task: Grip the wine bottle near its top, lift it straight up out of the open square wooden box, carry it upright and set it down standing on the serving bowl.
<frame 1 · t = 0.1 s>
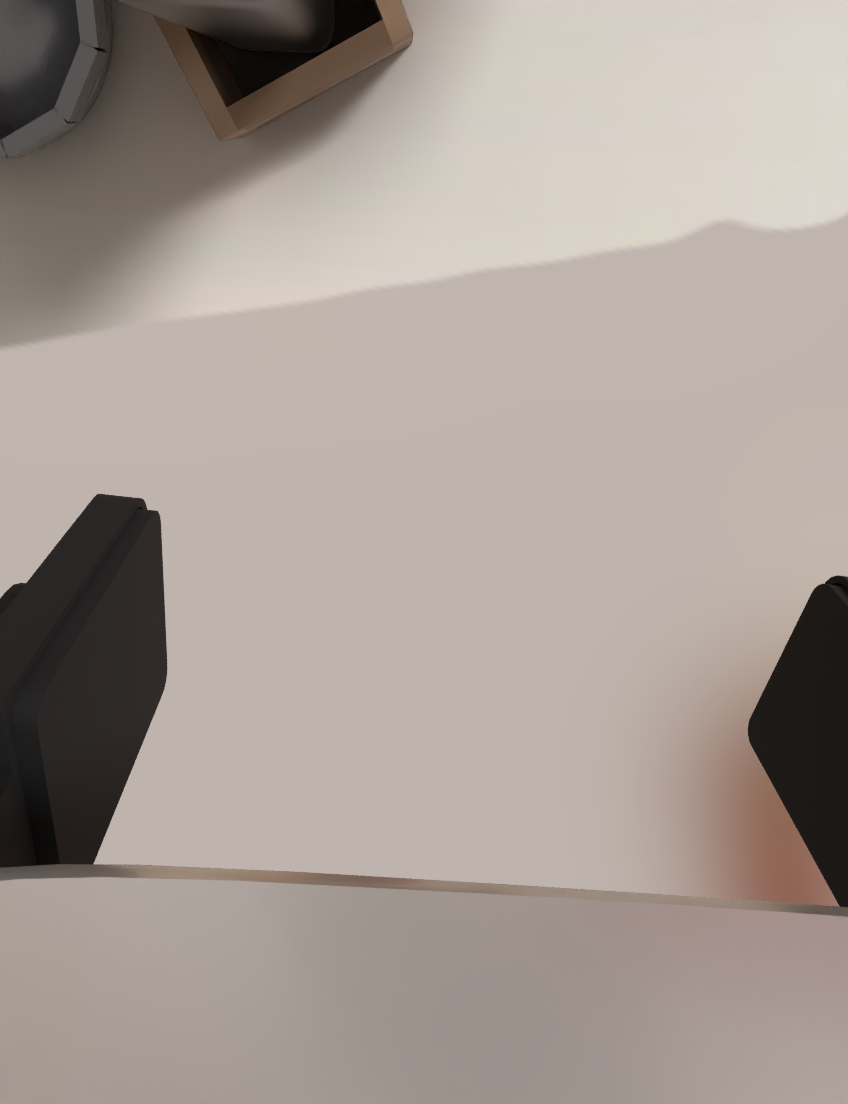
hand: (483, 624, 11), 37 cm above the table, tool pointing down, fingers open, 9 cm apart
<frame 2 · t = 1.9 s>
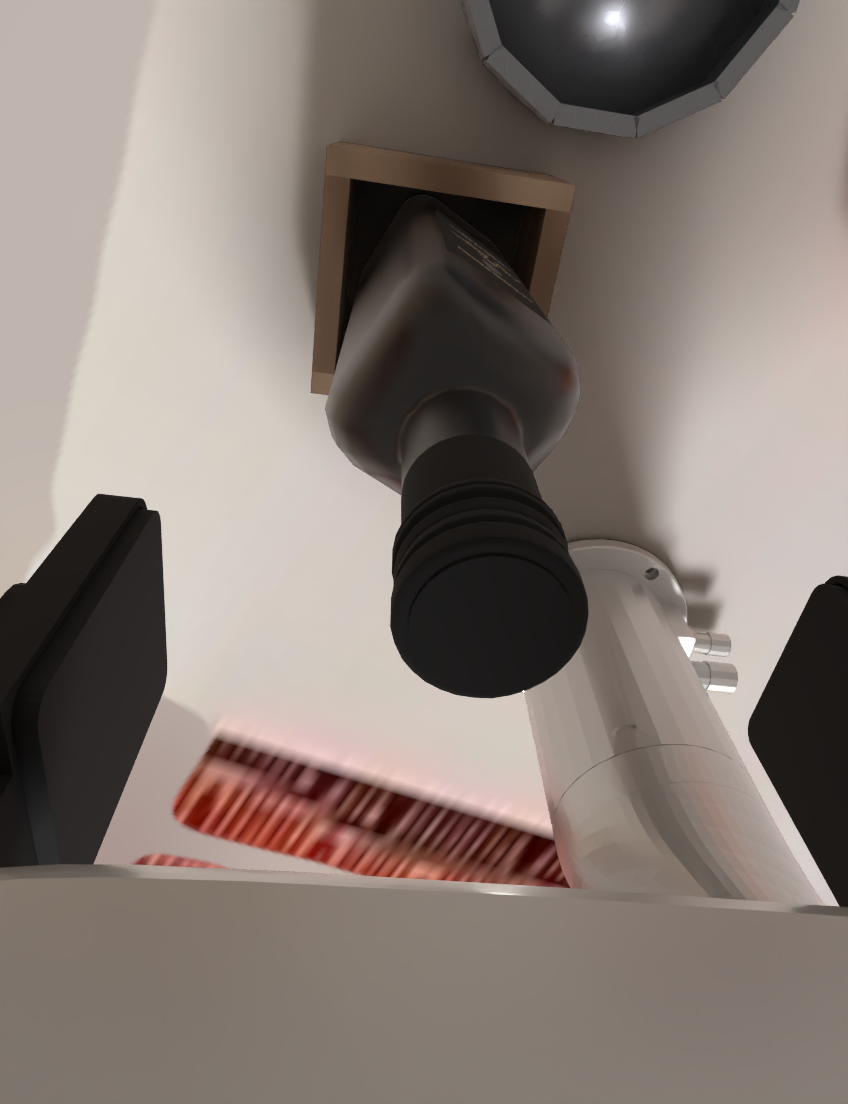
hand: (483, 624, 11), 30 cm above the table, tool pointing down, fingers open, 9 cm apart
open square wooden box: (430, 270, 37), on the table
wine bottle: (430, 270, 37), resting in open square wooden box
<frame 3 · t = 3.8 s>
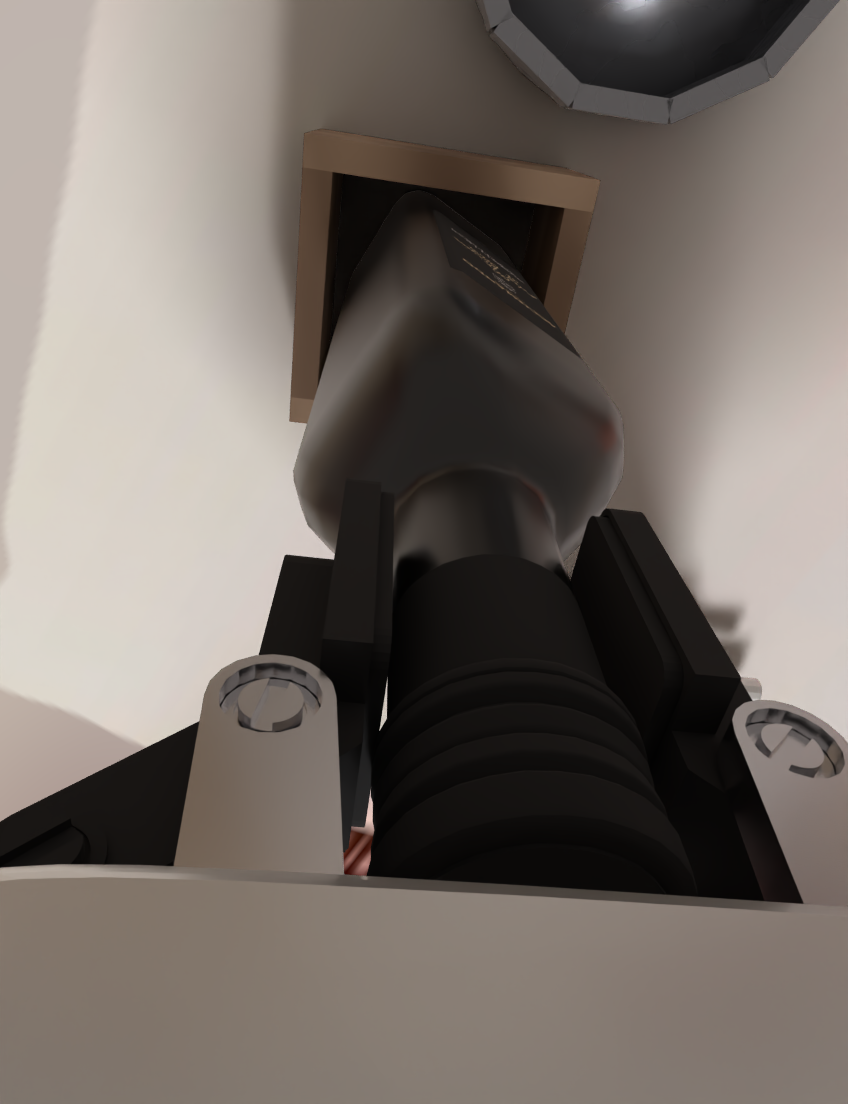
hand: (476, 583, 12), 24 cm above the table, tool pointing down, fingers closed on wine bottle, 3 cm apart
open square wooden box: (428, 277, 32), on the table
wine bottle: (427, 276, 33), resting in open square wooden box, touching gripper
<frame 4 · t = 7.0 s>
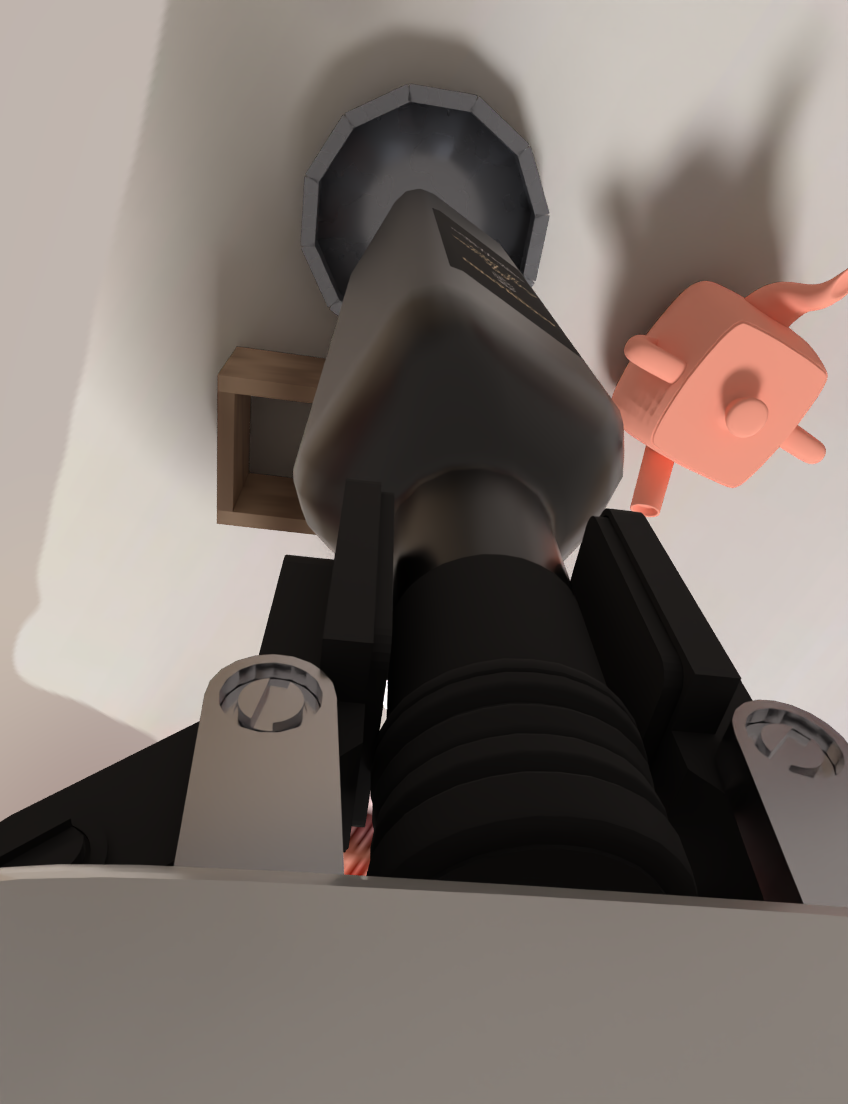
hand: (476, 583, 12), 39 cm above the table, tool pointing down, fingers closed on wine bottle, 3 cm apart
open square wooden box: (308, 427, 52), on the table
serving bowl: (423, 224, 45), on the table
wine bottle: (427, 275, 32), point 15 cm above the table, touching gripper
teapot: (688, 362, 50), on the table
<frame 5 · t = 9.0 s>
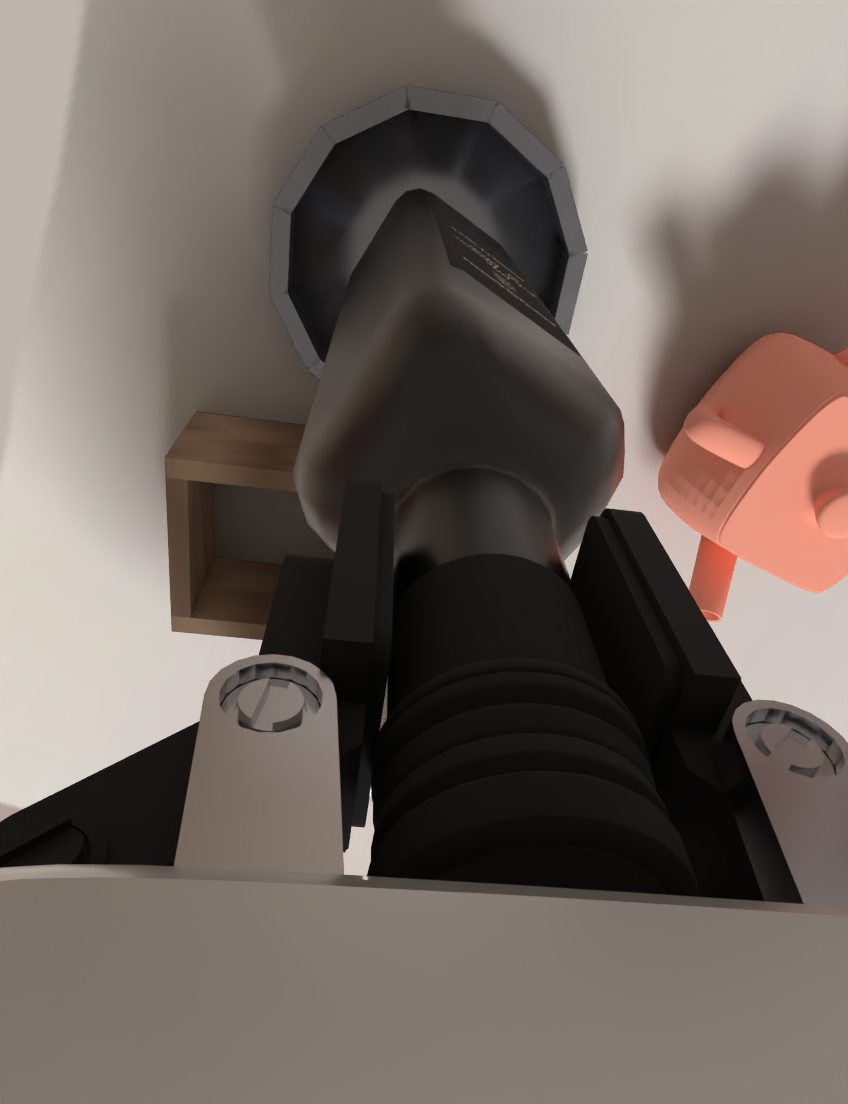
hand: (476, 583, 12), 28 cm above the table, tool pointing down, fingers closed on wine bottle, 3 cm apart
open square wooden box: (286, 505, 42), on the table
serving bowl: (425, 263, 36), on the table
wine bottle: (428, 275, 32), point 4 cm above the table, touching gripper
teapot: (752, 426, 41), on the table
when the fingers open (26 cm above the table, at t = 10.2 s): wine bottle stays where it is, resting on serving bowl.
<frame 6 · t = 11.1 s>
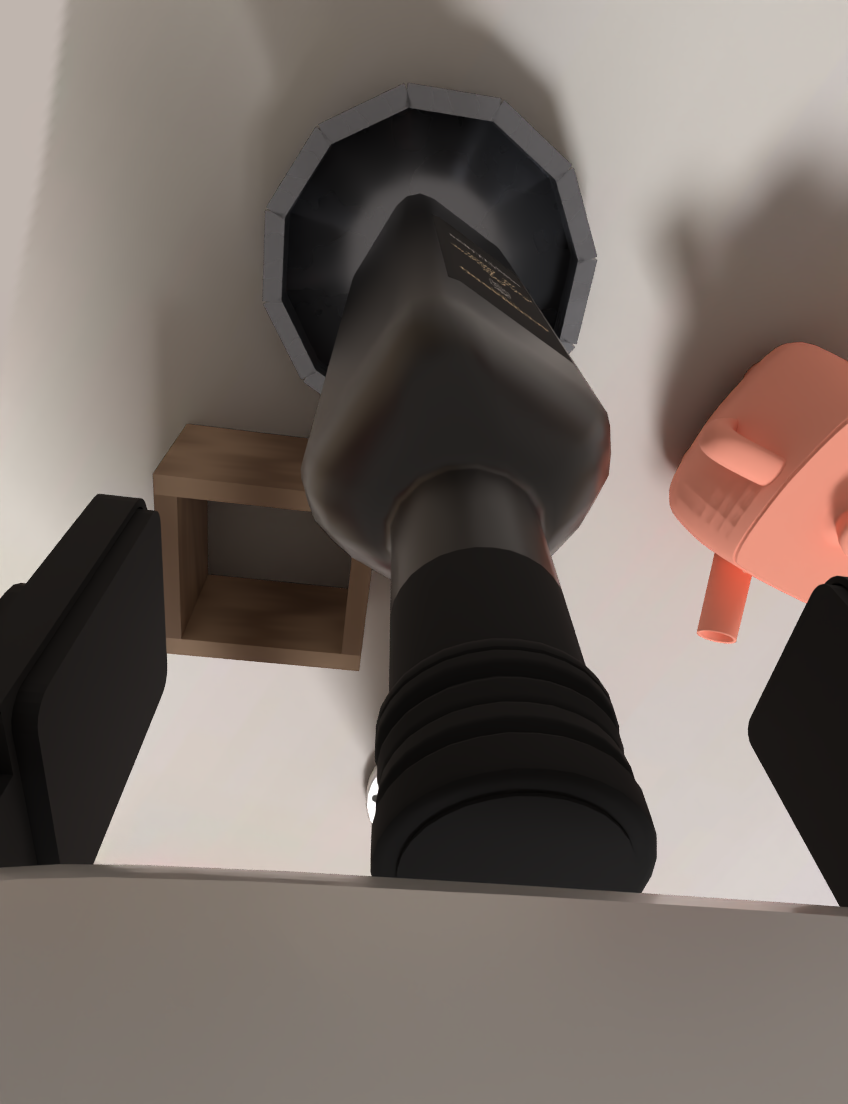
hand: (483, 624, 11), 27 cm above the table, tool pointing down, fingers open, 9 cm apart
open square wooden box: (281, 520, 41), on the table
serving bowl: (426, 269, 34), on the table
wine bottle: (428, 277, 33), point 1 cm above the table, touching serving bowl
teapot: (766, 438, 39), on the table
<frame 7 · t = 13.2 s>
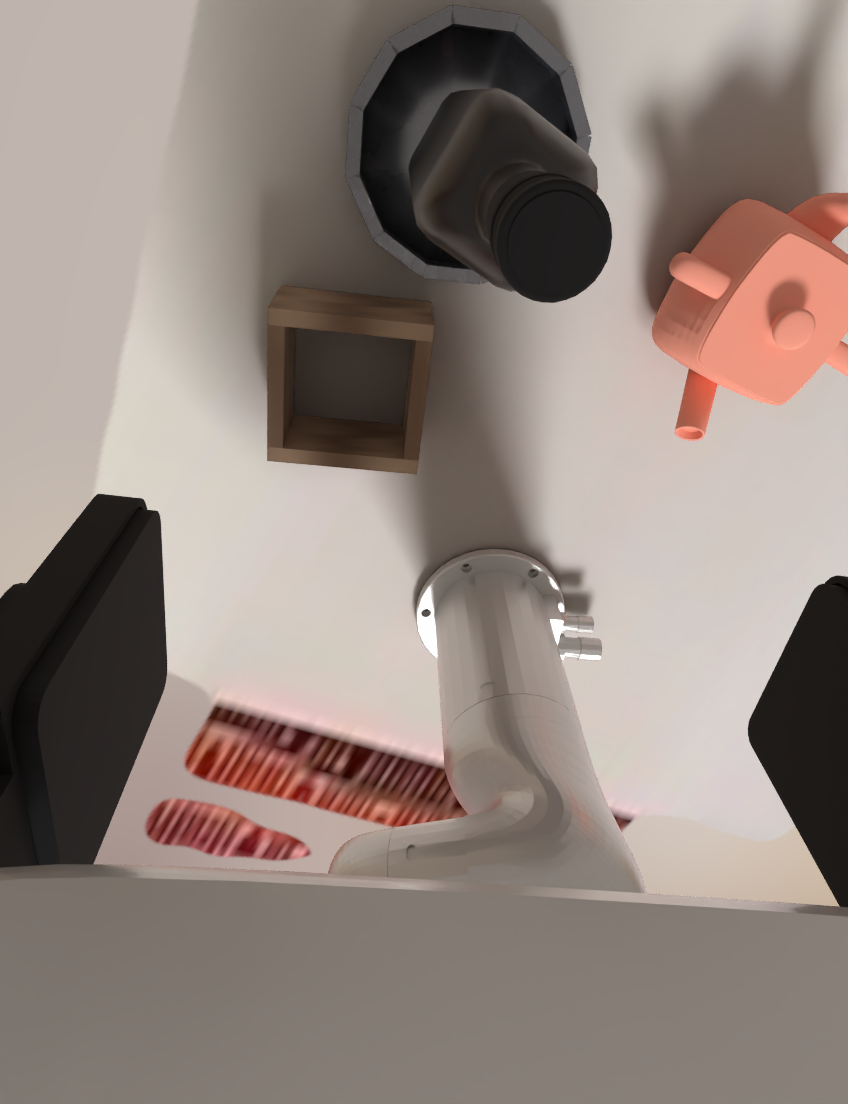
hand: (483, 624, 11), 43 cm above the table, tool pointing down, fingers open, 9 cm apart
open square wooden box: (352, 366, 52), on the table
serving bowl: (464, 153, 45), on the table
wine bottle: (465, 158, 45), point 1 cm above the table, touching serving bowl
teapot: (727, 287, 50), on the table
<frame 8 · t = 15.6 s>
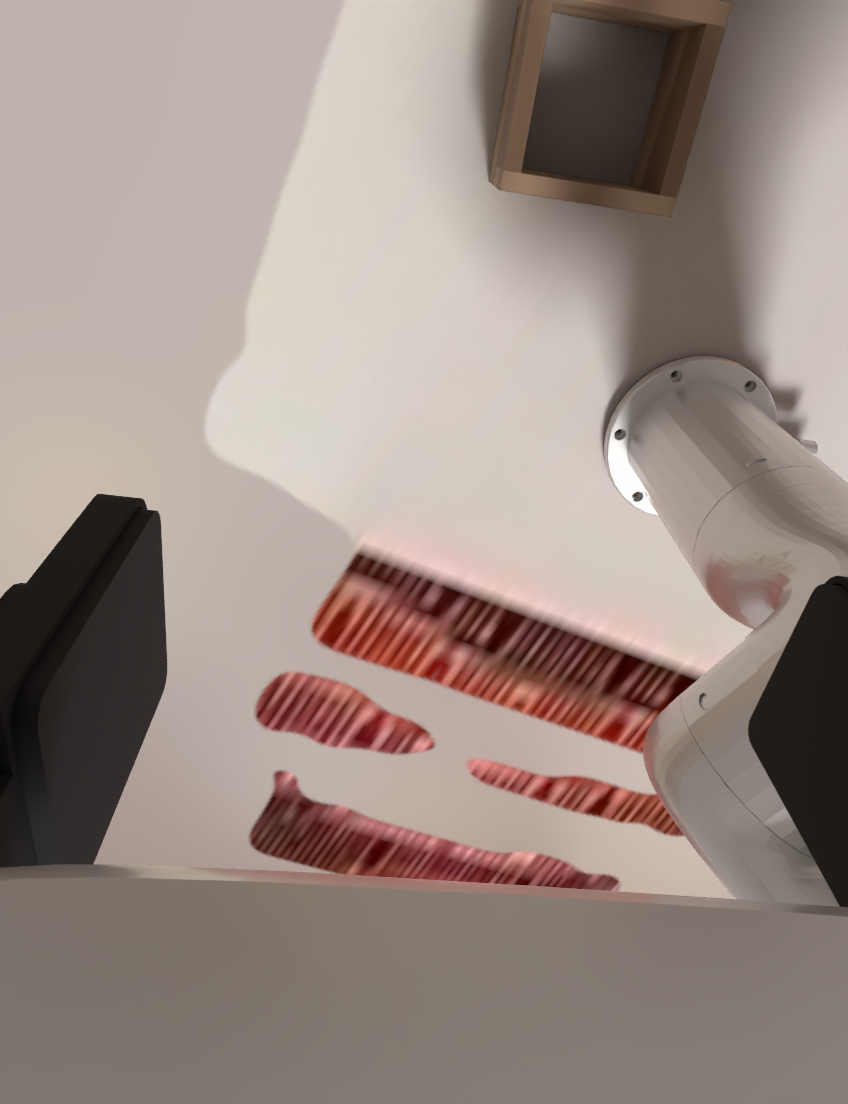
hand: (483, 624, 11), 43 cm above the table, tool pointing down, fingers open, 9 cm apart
open square wooden box: (585, 102, 45), on the table
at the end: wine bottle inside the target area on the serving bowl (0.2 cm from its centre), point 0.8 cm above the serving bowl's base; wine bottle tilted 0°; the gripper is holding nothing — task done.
